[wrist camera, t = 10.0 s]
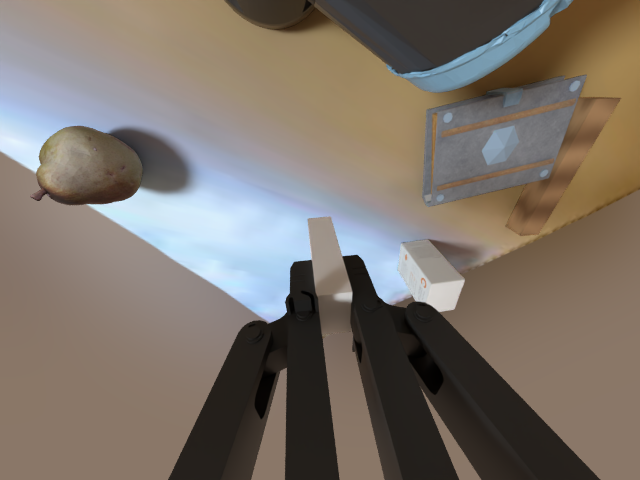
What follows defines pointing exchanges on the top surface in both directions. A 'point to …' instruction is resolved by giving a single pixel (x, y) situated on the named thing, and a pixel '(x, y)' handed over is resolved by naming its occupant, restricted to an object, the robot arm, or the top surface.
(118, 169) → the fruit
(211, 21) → the top surface
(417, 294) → the small box
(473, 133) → the book
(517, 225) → the rail
